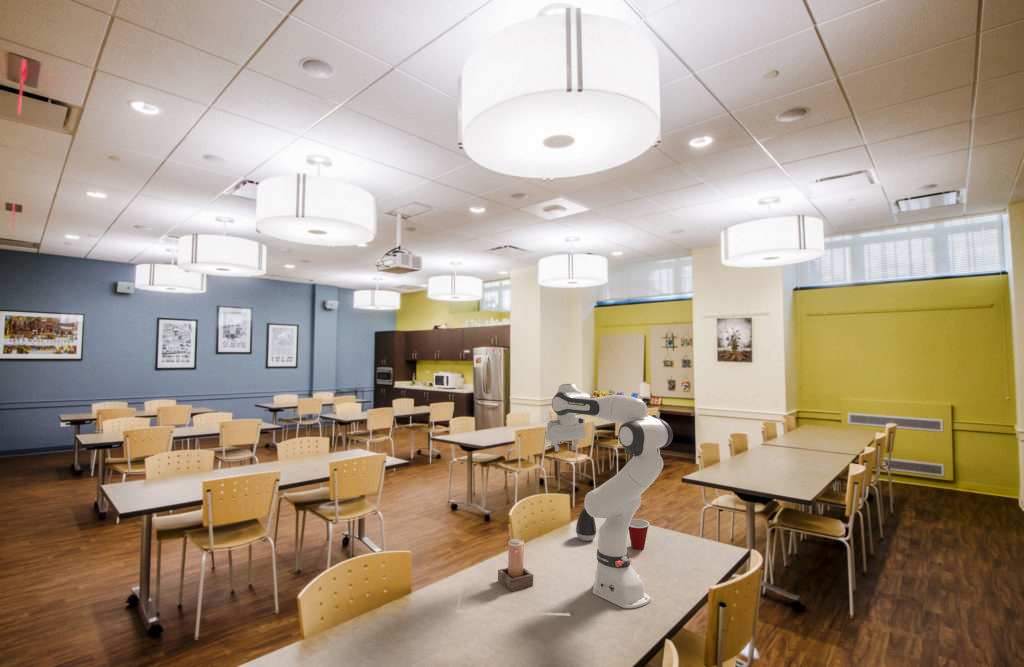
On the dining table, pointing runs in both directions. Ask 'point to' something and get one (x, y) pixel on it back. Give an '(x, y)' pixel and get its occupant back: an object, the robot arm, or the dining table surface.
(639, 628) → the dining table surface
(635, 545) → the plastic cup
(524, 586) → the holder
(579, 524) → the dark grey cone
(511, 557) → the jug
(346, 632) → the dining table surface
